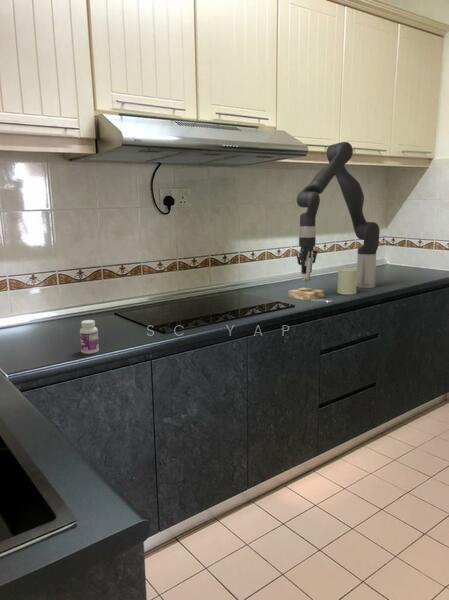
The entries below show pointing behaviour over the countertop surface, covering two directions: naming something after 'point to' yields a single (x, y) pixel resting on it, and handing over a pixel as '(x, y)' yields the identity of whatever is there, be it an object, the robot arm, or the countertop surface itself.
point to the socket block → (306, 293)
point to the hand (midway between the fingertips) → (306, 273)
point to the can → (347, 281)
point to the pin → (307, 271)
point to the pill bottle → (89, 337)
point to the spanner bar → (320, 300)
